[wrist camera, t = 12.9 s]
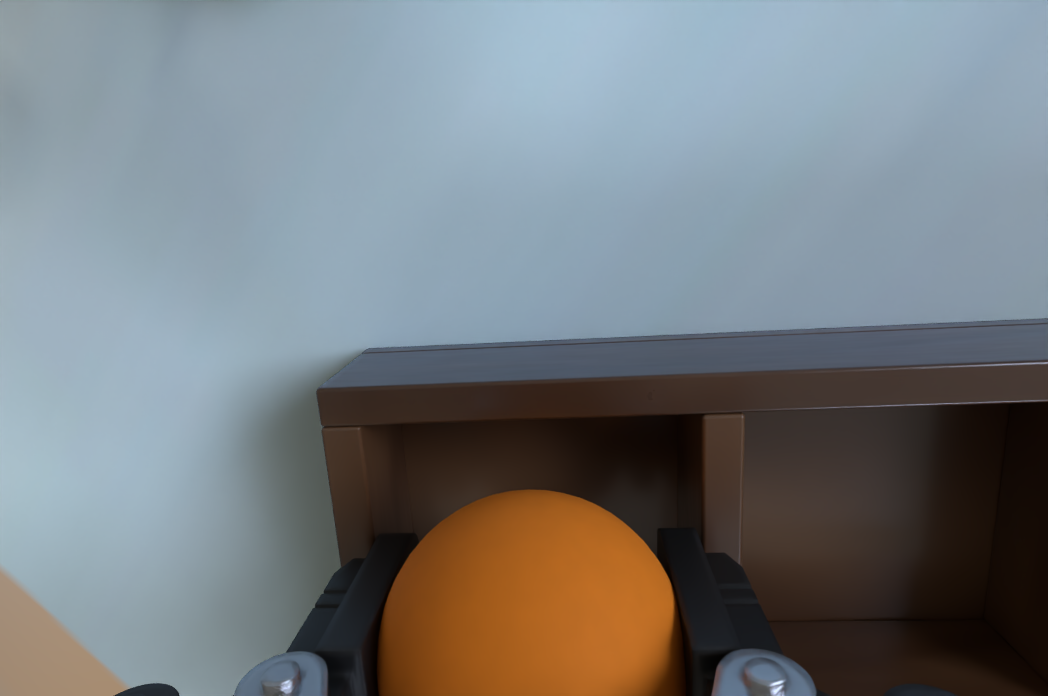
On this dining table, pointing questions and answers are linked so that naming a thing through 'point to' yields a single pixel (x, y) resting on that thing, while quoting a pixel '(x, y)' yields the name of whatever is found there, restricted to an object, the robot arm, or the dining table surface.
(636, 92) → the dining table surface
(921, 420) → the fruit rack
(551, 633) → the clementine
